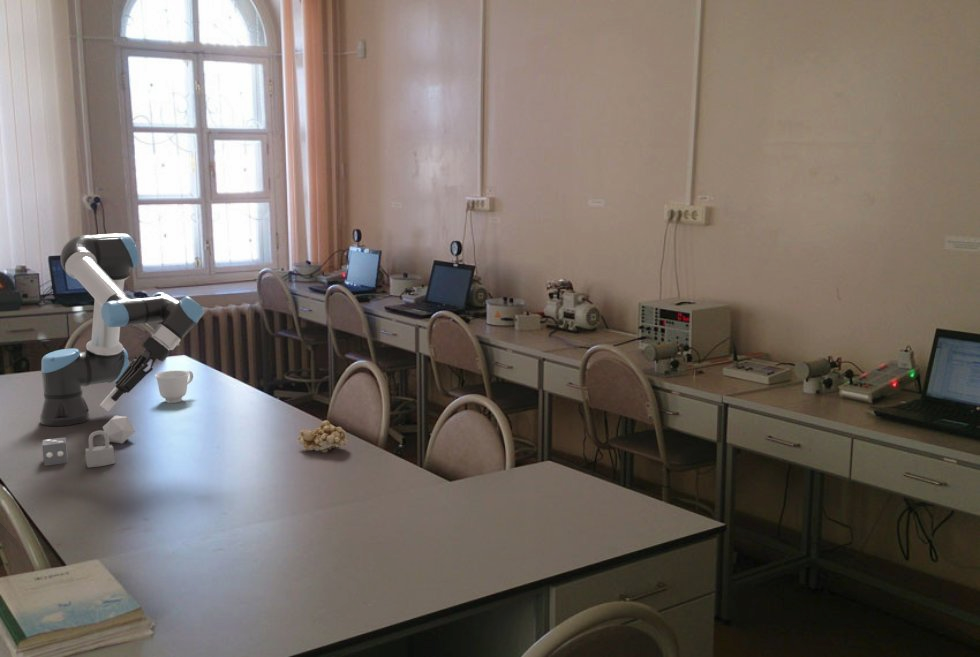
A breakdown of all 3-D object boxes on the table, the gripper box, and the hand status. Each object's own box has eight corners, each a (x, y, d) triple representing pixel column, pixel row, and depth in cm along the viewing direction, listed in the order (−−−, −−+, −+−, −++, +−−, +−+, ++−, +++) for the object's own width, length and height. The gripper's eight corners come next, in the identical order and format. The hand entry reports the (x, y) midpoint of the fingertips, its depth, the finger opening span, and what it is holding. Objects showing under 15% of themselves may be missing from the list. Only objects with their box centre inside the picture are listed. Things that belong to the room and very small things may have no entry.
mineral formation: (330, 439, 282) (360, 446, 271) (295, 456, 273) (324, 464, 262) (325, 415, 280) (355, 421, 269) (289, 431, 271) (318, 438, 260)
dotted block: (44, 459, 263) (42, 439, 262) (67, 457, 266) (65, 436, 265) (44, 466, 258) (42, 445, 257) (67, 463, 260) (65, 442, 259)
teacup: (204, 398, 334) (203, 371, 332) (171, 406, 322) (169, 379, 320) (182, 393, 341) (181, 367, 339) (149, 402, 328) (147, 375, 326)
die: (141, 441, 283) (134, 413, 286) (128, 435, 275) (121, 406, 278) (116, 451, 282) (109, 423, 286) (102, 445, 274) (95, 416, 278)
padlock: (112, 460, 262) (110, 427, 261) (115, 464, 259) (112, 430, 257) (86, 464, 259) (83, 430, 257) (88, 468, 255) (85, 434, 254)
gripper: (177, 355, 260) (119, 421, 253) (164, 348, 270) (109, 411, 264) (156, 338, 256) (97, 405, 249) (144, 332, 266) (88, 395, 260)
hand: (103, 408), depth 256 cm, fingers closed
